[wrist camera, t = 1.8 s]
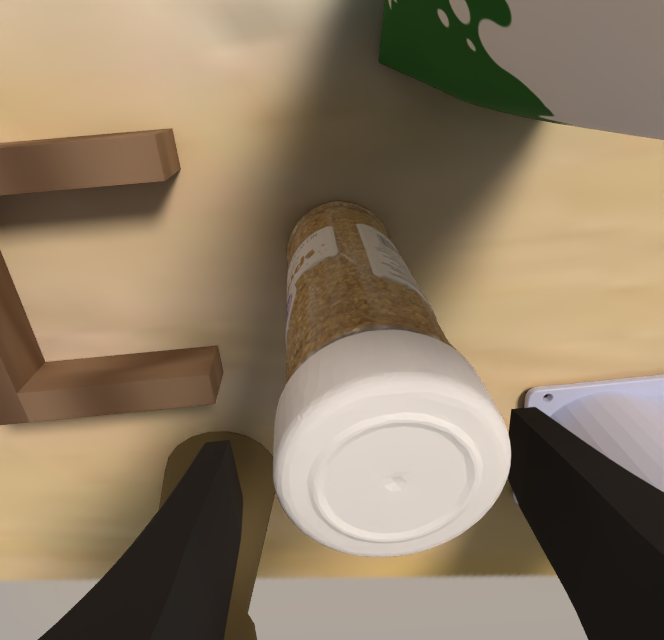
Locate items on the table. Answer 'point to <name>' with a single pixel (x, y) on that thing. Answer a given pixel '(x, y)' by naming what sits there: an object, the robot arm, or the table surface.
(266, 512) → the olive bulb-ended cylinder
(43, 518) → the table surface
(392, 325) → the sprinkles bottle
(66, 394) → the walnut holder
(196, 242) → the table surface
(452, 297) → the table surface
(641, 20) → the milk carton
